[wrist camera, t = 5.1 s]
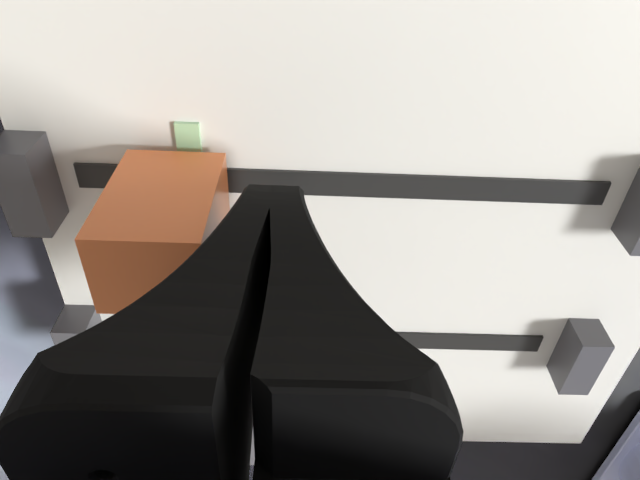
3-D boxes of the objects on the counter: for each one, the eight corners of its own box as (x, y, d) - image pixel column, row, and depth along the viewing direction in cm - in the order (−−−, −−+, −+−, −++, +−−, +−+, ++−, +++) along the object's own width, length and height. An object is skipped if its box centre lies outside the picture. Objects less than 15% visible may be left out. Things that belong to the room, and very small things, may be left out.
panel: (839, -62, 12) (940, -41, 10) (569, 417, 23) (592, 471, 21) (-43, -107, 11) (-116, -94, 9) (119, 408, 22) (100, 462, 20)
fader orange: (225, 152, 13) (200, 243, 10) (230, 219, 14) (209, 316, 12) (127, 149, 13) (74, 240, 10) (140, 216, 14) (96, 313, 11)
